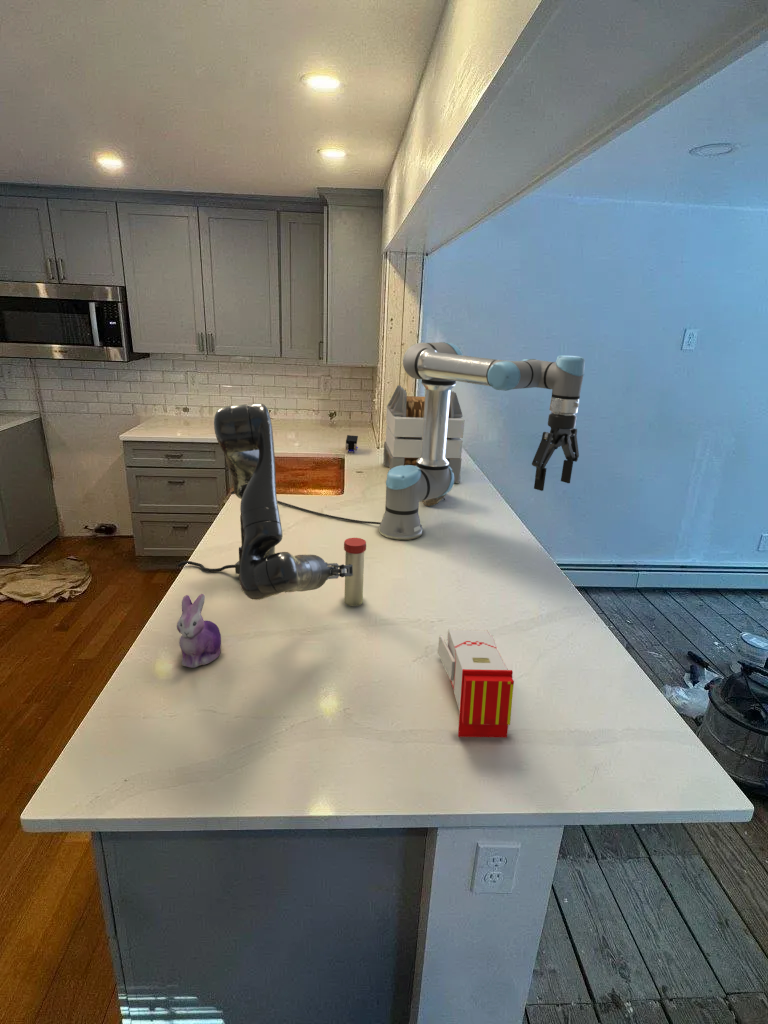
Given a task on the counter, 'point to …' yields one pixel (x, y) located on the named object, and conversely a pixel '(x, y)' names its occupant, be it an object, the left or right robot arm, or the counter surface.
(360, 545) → the lid
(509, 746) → the counter surface
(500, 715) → the toy
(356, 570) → the jar
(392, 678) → the counter surface
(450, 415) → the white wooden crate
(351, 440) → the figurine character
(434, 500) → the fossil
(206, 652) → the figurine
